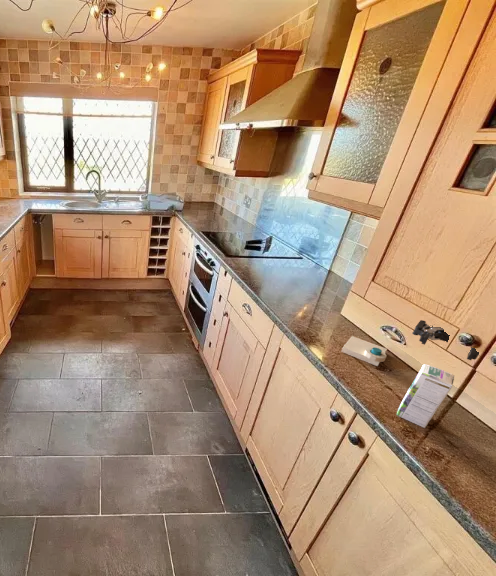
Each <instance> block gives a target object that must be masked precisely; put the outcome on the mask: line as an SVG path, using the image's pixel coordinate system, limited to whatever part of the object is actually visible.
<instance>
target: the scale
mask: <svg viewBox="0 0 496 576" xmlns="http://www.w3.org/2000/svg"><path fill="white" fill-rule="evenodd" d="M374 347H375V348H379V349H381V350H382V352H381V355H380V356H378V355H374V354H372V353H371V351H372V348H374ZM387 350H388V348H386V347H383V346H380V345H379V344H376V343H372V342H370V341H367V340H364V339H362V338H359V337H356V336H354V335H351V336H350V338H349V339H348V340H347V342H346V343H345V344H344V345H343V346H342V348H341V351H340V352H341V353H343V354H345V355H349V356H351V357H353V358H356V359H358V360H361V361H362V362H366V363H369V364H371V365H373V366H375V367H378V366H379V365H380V363H382V362H385V361H386V359H387V354H386V353H387Z"/></svg>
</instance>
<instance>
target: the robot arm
mask: <svg viewBox="0 0 496 576" xmlns="http://www.w3.org/2000/svg"><path fill="white" fill-rule="evenodd" d="M429 325H430V324H428V323H427V321H426V320H422V319H421V320H419V322H418V323H417V324H416V326H415V327H414V329H413V331H412V333H411V334H412V335H414V336H419V338H418V339H419V340H418V341H419V343H420V342H421V345H424V346H425V345H426V343H427V342H428V340H431V341H443V342H445V341H446V342H445V343H448V340H449V336H450V335H448V334H447V333H446V332H444V329H443V328H441V327H433V325H430V326H432V327H430V326H429ZM479 356H480V355H479V352H477V351H476V349H475V348H472V347H471V350H470V352H469V353H468V352H467V356H466V360H468V361H472V360H474V361H475V360H477V359H478V357H479Z"/></svg>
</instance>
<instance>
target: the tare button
mask: <svg viewBox="0 0 496 576" xmlns="http://www.w3.org/2000/svg"><path fill="white" fill-rule="evenodd" d="M381 352H382V350H381V349H379V348H375V347H374V348H372V351H371V353H372V354H374V355H378V356H380V355H381Z"/></svg>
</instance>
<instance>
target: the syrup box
mask: <svg viewBox="0 0 496 576" xmlns="http://www.w3.org/2000/svg"><path fill="white" fill-rule="evenodd" d="M454 381H455V375H454V374H453V373H450V372H448V371H446V370H443V369H441V368H438V367H436V366H433V365H429V364H426V363H425V364H422V366H421V368H420V369H419V372H418V373H417V375H416V376H415V378H414V380H413V381H412V383H411V385H410V386H409V388H408V389H407V391H406V393H405V395H404V397H403V398H402V400H401V402H400V403H399V407H398V408H397V411H396V416H397V417H399V418H402V419H404V420H406V421H407V422H410V423H413V424H415V425H417V426H419V427H421V428H424V429H425V428H427V426H428V424H429V423H430V422H431V420H432V418H433V417H434V415H435V414H436V412H437V411H438V410H439V408H440V407H441V405H442V404H443V402H444V400H445V399H446V397H447V396H448V395H449V392H450V391H451V389H452V388H453V384H454Z"/></svg>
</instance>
